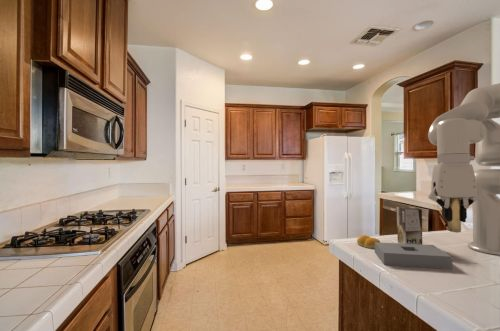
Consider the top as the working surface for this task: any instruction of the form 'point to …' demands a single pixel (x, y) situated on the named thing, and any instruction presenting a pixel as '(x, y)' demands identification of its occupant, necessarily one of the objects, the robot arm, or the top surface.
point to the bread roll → (367, 241)
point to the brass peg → (455, 215)
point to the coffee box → (409, 225)
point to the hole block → (412, 255)
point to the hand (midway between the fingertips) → (454, 220)
